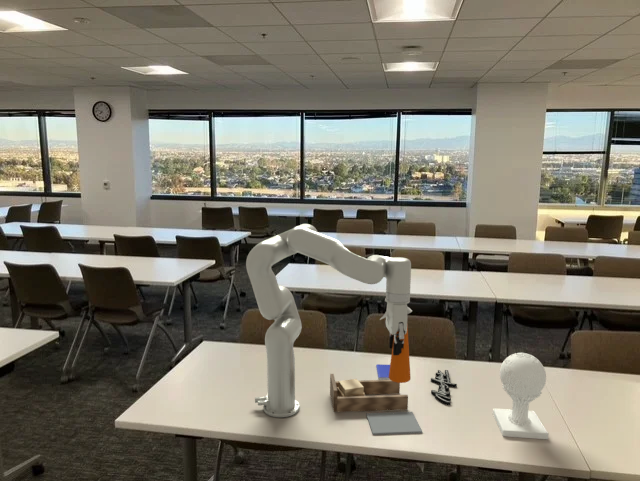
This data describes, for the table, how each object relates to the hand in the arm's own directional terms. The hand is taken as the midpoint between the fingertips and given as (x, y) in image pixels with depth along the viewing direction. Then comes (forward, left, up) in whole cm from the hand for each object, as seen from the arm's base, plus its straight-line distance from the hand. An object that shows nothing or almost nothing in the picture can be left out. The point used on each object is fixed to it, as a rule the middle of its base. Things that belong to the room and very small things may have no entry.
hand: (396, 350), depth 152 cm
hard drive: (+6, +38, -26) cm, 46 cm away
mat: (0, 0, -25) cm, 25 cm away
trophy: (+41, -4, -26) cm, 49 cm away
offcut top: (-12, +15, -21) cm, 29 cm away
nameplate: (+25, +24, -26) cm, 43 cm away
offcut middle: (-12, +15, -24) cm, 31 cm away
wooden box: (-6, +15, -25) cm, 30 cm away
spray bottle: (0, 0, -9) cm, 9 cm away
